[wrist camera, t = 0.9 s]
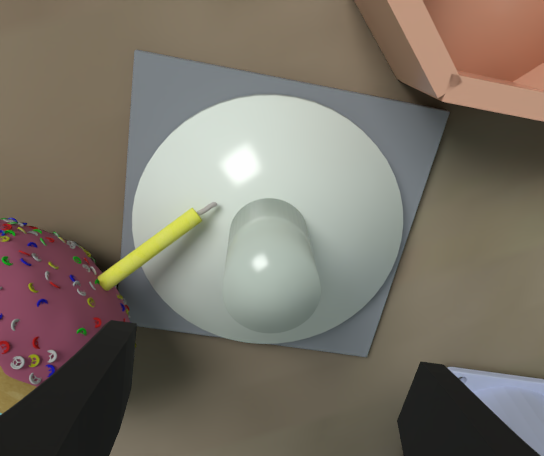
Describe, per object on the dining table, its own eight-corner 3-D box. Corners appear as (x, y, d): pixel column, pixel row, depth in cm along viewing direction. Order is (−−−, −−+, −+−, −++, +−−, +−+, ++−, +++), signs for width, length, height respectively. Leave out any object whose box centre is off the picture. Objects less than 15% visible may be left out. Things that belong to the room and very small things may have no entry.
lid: (433, 122, 18) (494, 160, 14) (359, 347, 23) (386, 434, 18) (147, 67, 17) (106, 88, 13) (128, 315, 22) (92, 399, 17)
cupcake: (24, 343, 23) (202, 176, 23) (64, 510, 18) (299, 295, 17) (-187, 280, 17) (60, 42, 16) (-223, 515, 11) (146, 168, 11)
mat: (446, 110, 19) (449, 111, 18) (365, 351, 23) (366, 357, 23) (136, 49, 17) (134, 50, 17) (118, 318, 22) (116, 323, 22)
